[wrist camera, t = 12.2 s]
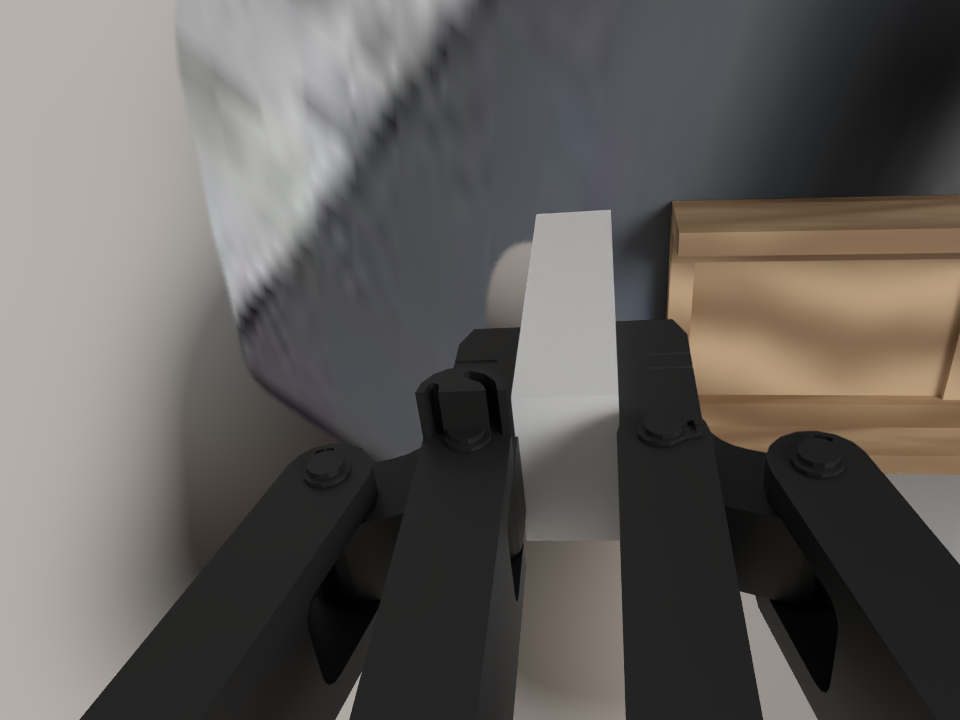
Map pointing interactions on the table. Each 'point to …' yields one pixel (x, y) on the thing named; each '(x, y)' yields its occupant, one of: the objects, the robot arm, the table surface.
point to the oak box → (825, 321)
